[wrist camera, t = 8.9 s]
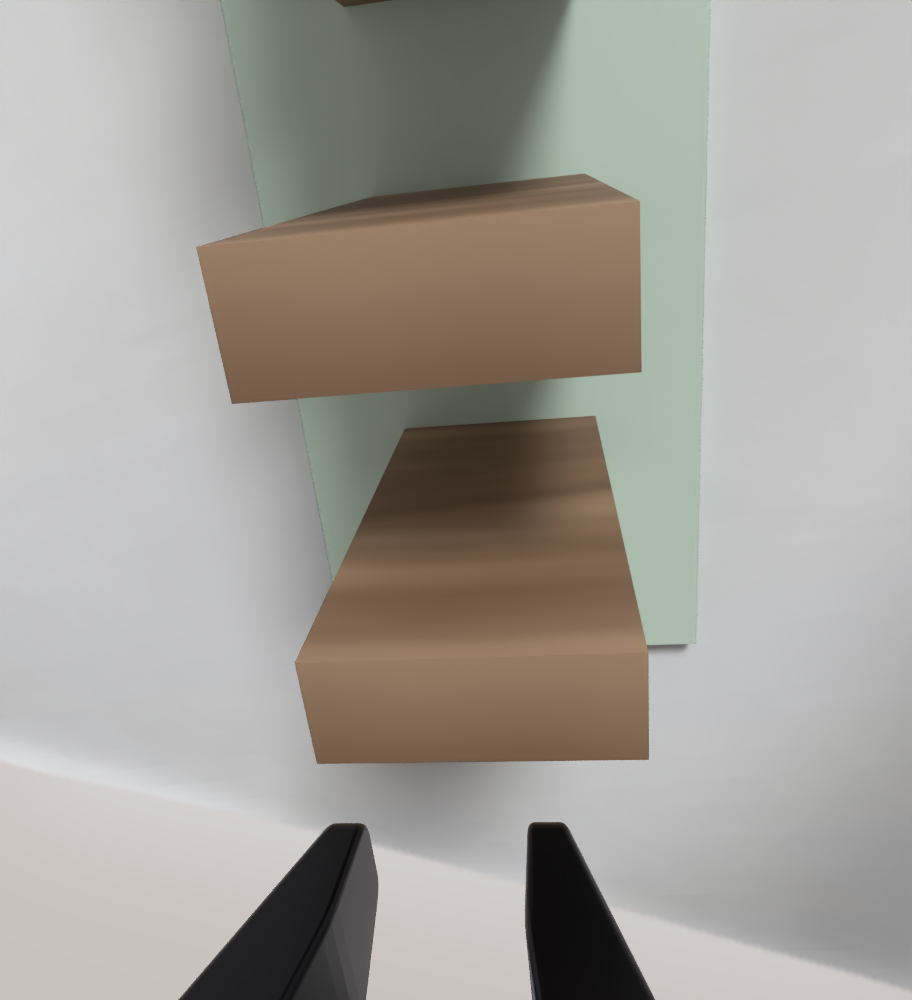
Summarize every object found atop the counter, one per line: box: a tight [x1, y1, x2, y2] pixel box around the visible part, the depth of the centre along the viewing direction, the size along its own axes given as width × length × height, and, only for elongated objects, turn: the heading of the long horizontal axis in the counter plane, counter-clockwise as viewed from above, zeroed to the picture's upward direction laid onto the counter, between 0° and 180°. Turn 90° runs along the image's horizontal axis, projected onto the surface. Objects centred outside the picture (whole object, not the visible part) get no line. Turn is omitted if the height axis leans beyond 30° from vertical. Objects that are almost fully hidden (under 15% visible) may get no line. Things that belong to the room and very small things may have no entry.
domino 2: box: [295, 416, 649, 764], centre depth 15 cm, size 2×5×10 cm, turn 96°
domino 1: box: [196, 173, 642, 404], centre depth 13 cm, size 2×5×10 cm, turn 96°
